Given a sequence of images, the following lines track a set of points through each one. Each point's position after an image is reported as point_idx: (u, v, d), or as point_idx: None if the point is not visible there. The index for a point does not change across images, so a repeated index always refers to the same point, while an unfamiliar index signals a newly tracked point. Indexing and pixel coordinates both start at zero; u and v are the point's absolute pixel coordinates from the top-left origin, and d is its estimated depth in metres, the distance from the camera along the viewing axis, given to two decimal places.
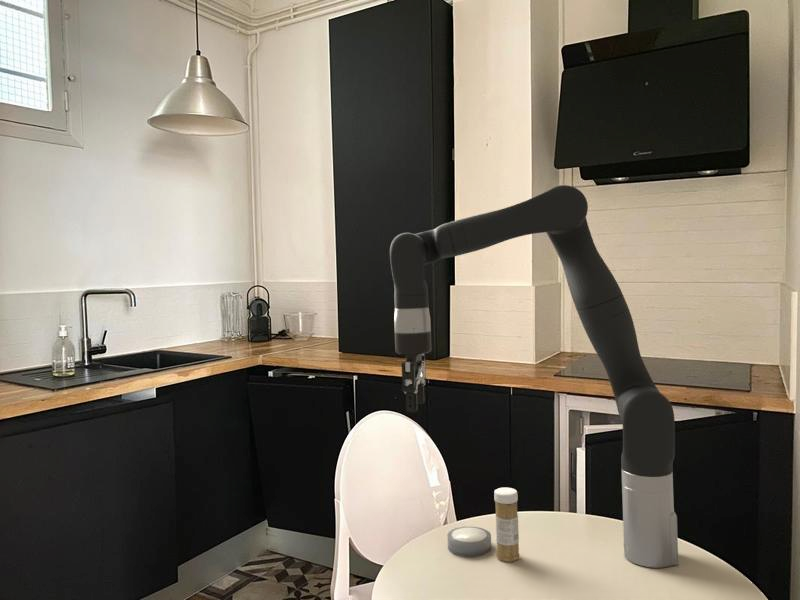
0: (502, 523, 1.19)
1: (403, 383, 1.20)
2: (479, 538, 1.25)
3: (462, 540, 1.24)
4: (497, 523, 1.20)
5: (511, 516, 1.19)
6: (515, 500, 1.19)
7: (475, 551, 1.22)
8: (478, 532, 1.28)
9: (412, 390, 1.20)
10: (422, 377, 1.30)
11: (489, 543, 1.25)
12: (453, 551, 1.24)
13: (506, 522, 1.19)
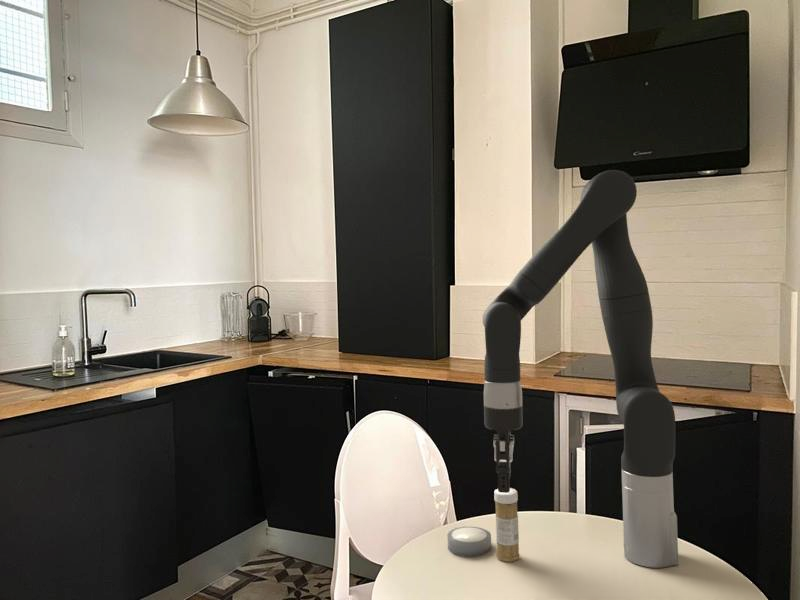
0: (502, 523, 1.19)
1: (497, 463, 1.14)
2: (479, 538, 1.25)
3: (462, 540, 1.24)
4: (497, 523, 1.20)
5: (511, 516, 1.19)
6: (515, 500, 1.19)
7: (475, 551, 1.22)
8: (478, 532, 1.28)
9: (506, 471, 1.14)
10: None
11: (489, 543, 1.25)
12: (453, 551, 1.24)
13: (506, 522, 1.19)
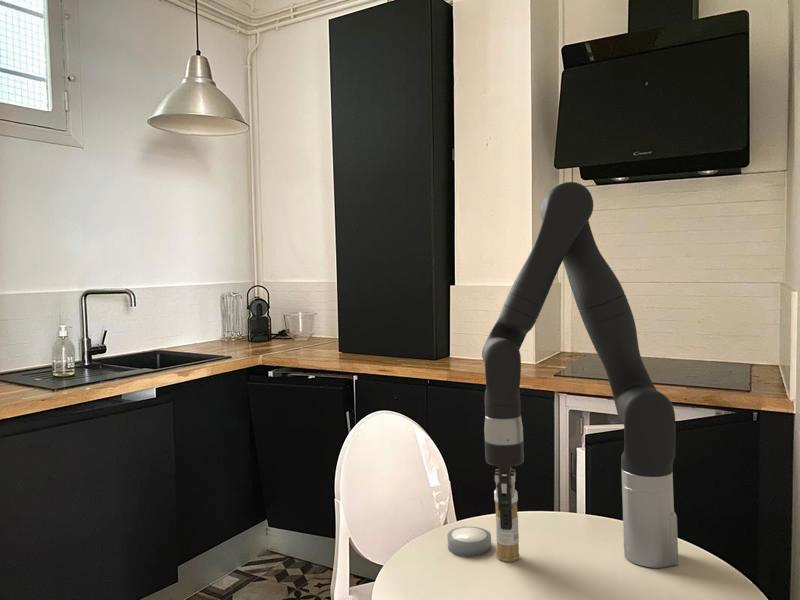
0: None
1: (499, 504, 1.16)
2: (479, 538, 1.25)
3: (462, 540, 1.24)
4: (497, 523, 1.20)
5: None
6: (515, 500, 1.19)
7: (475, 551, 1.22)
8: (478, 532, 1.28)
9: (509, 510, 1.16)
10: None
11: (489, 543, 1.25)
12: (453, 551, 1.24)
13: None
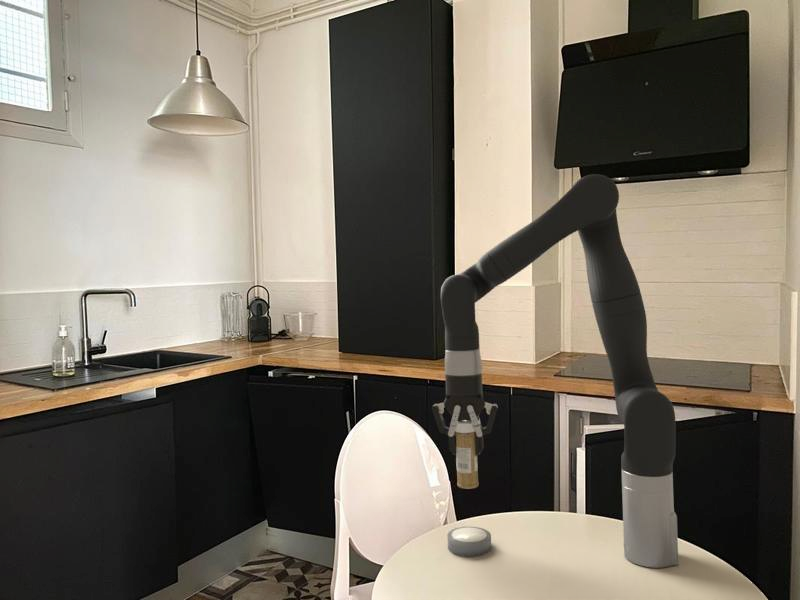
0: None
1: None
2: (479, 538, 1.25)
3: (462, 540, 1.24)
4: None
5: (456, 444, 1.26)
6: (458, 430, 1.25)
7: (475, 551, 1.22)
8: (478, 532, 1.28)
9: None
10: (473, 424, 1.25)
11: (489, 543, 1.25)
12: (453, 551, 1.24)
13: None
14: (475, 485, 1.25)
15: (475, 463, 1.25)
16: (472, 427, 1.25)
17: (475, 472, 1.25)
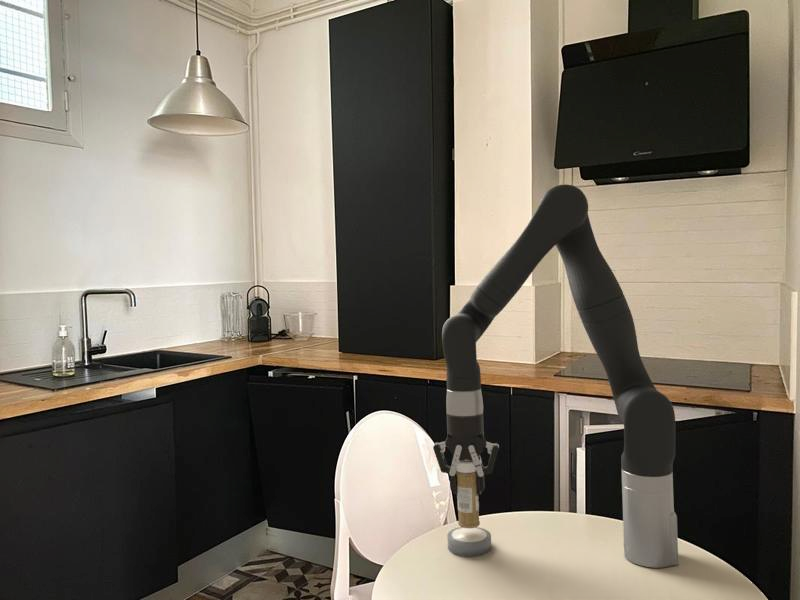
0: None
1: None
2: (479, 538, 1.25)
3: (462, 540, 1.24)
4: None
5: (457, 483, 1.26)
6: (459, 470, 1.25)
7: (475, 551, 1.22)
8: (478, 532, 1.28)
9: None
10: (474, 463, 1.25)
11: (489, 543, 1.25)
12: (453, 551, 1.24)
13: None
14: (476, 525, 1.25)
15: (476, 503, 1.25)
16: (474, 467, 1.25)
17: (476, 512, 1.25)
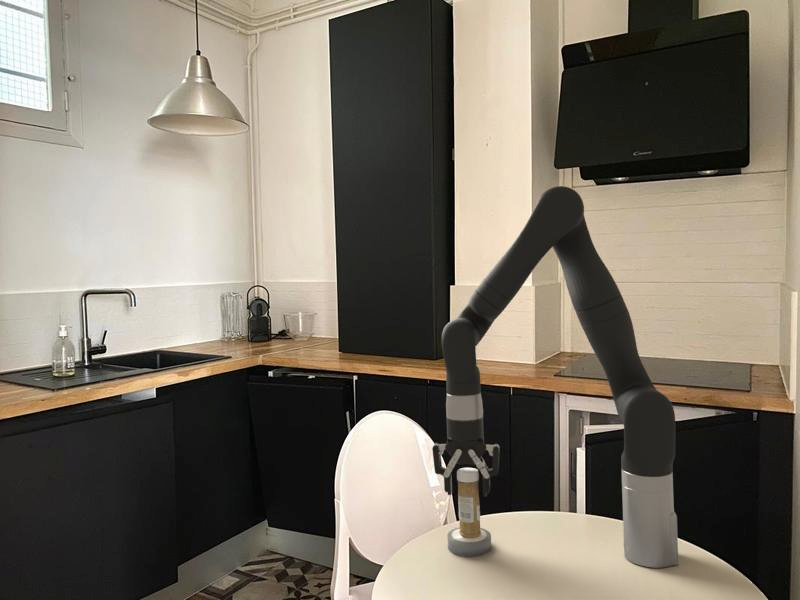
0: None
1: None
2: (479, 538, 1.25)
3: (462, 540, 1.24)
4: None
5: (459, 493, 1.26)
6: (460, 479, 1.25)
7: (475, 551, 1.22)
8: None
9: None
10: None
11: (489, 543, 1.25)
12: (453, 551, 1.24)
13: (458, 496, 1.27)
14: (477, 534, 1.25)
15: (477, 512, 1.25)
16: (475, 476, 1.25)
17: (477, 521, 1.25)
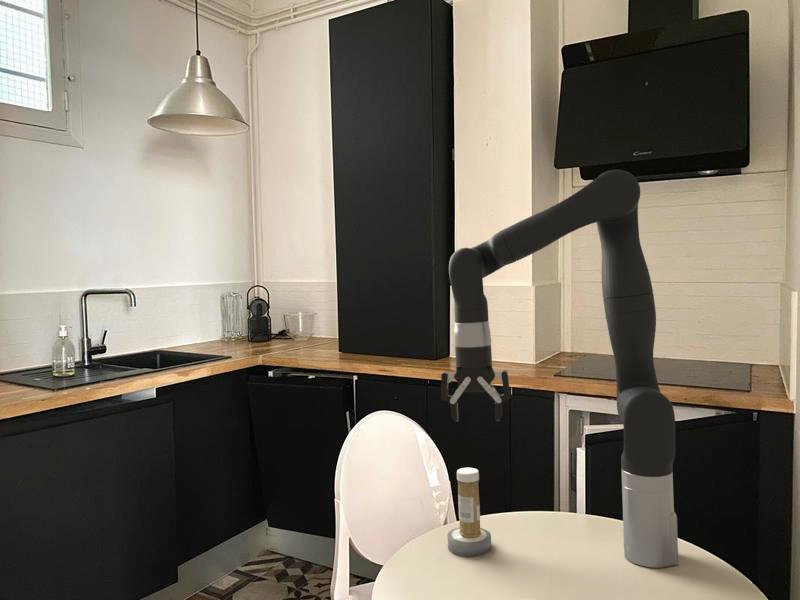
0: None
1: None
2: (479, 538, 1.25)
3: (462, 540, 1.24)
4: None
5: (459, 493, 1.26)
6: (460, 479, 1.25)
7: (475, 551, 1.22)
8: None
9: (441, 398, 1.29)
10: (489, 393, 1.26)
11: (489, 543, 1.25)
12: (453, 551, 1.24)
13: (458, 496, 1.27)
14: (477, 534, 1.25)
15: (477, 512, 1.25)
16: (475, 476, 1.25)
17: (477, 521, 1.25)
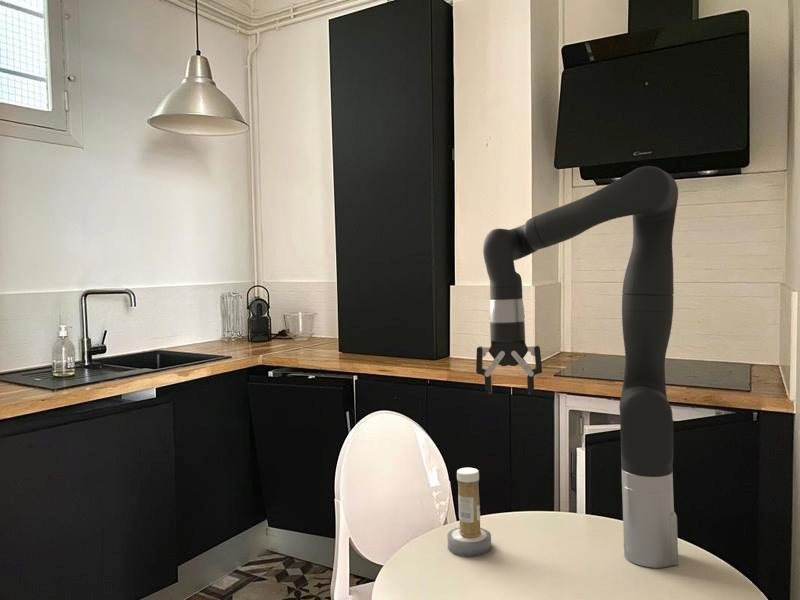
0: None
1: None
2: (479, 538, 1.25)
3: (462, 540, 1.24)
4: None
5: (459, 493, 1.26)
6: (460, 480, 1.25)
7: (475, 551, 1.22)
8: None
9: None
10: None
11: (489, 543, 1.25)
12: (453, 551, 1.24)
13: (458, 496, 1.27)
14: (477, 534, 1.25)
15: (477, 512, 1.25)
16: (475, 476, 1.25)
17: (477, 521, 1.25)
